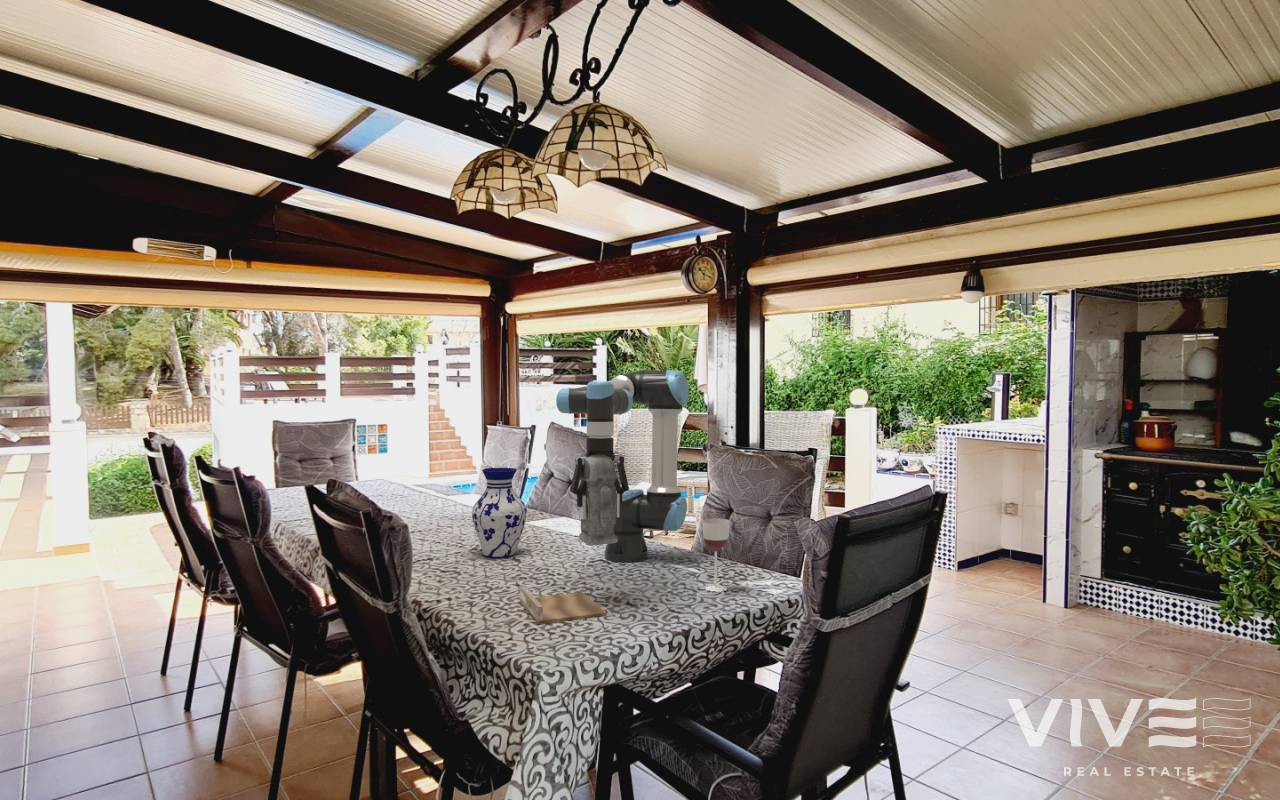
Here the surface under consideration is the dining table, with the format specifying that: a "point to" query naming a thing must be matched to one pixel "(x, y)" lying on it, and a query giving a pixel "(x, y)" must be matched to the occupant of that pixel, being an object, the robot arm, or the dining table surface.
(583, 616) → the shelf board
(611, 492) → the figurine
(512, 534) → the vase
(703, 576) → the dining table surface
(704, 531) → the wineglass
